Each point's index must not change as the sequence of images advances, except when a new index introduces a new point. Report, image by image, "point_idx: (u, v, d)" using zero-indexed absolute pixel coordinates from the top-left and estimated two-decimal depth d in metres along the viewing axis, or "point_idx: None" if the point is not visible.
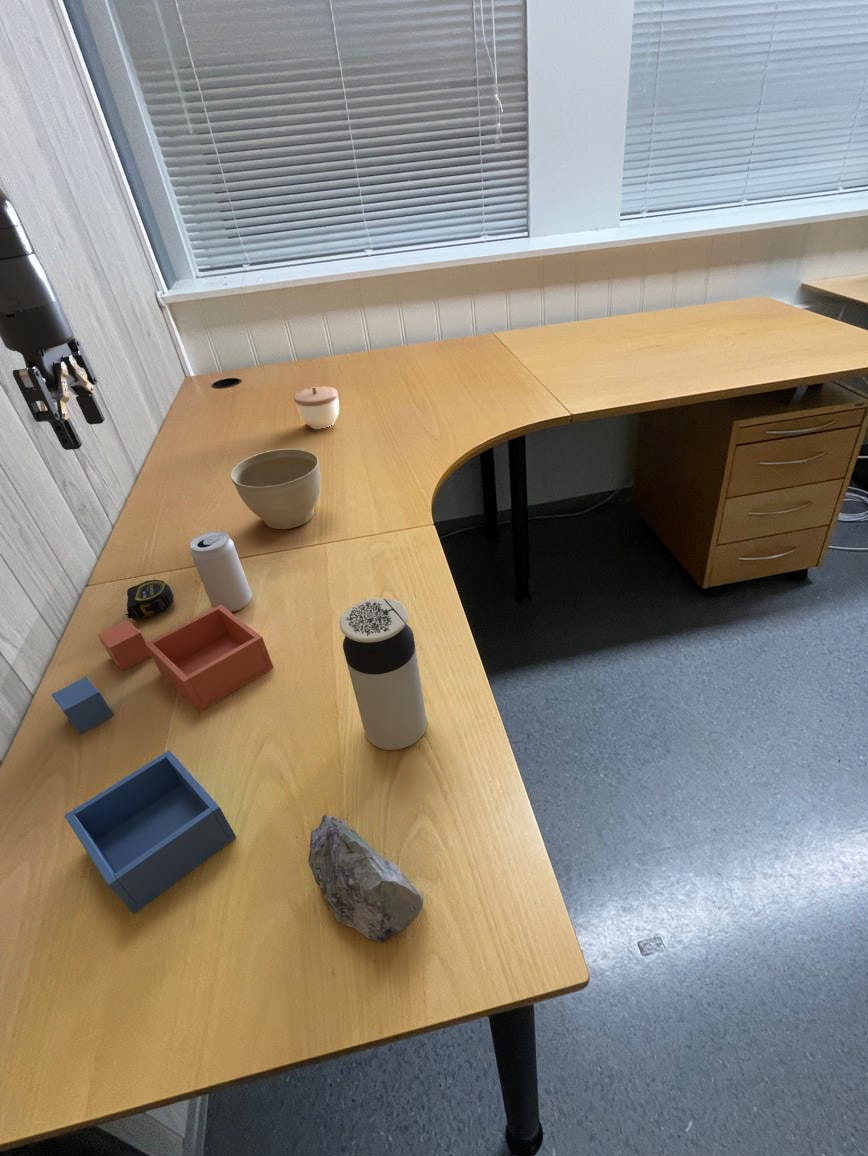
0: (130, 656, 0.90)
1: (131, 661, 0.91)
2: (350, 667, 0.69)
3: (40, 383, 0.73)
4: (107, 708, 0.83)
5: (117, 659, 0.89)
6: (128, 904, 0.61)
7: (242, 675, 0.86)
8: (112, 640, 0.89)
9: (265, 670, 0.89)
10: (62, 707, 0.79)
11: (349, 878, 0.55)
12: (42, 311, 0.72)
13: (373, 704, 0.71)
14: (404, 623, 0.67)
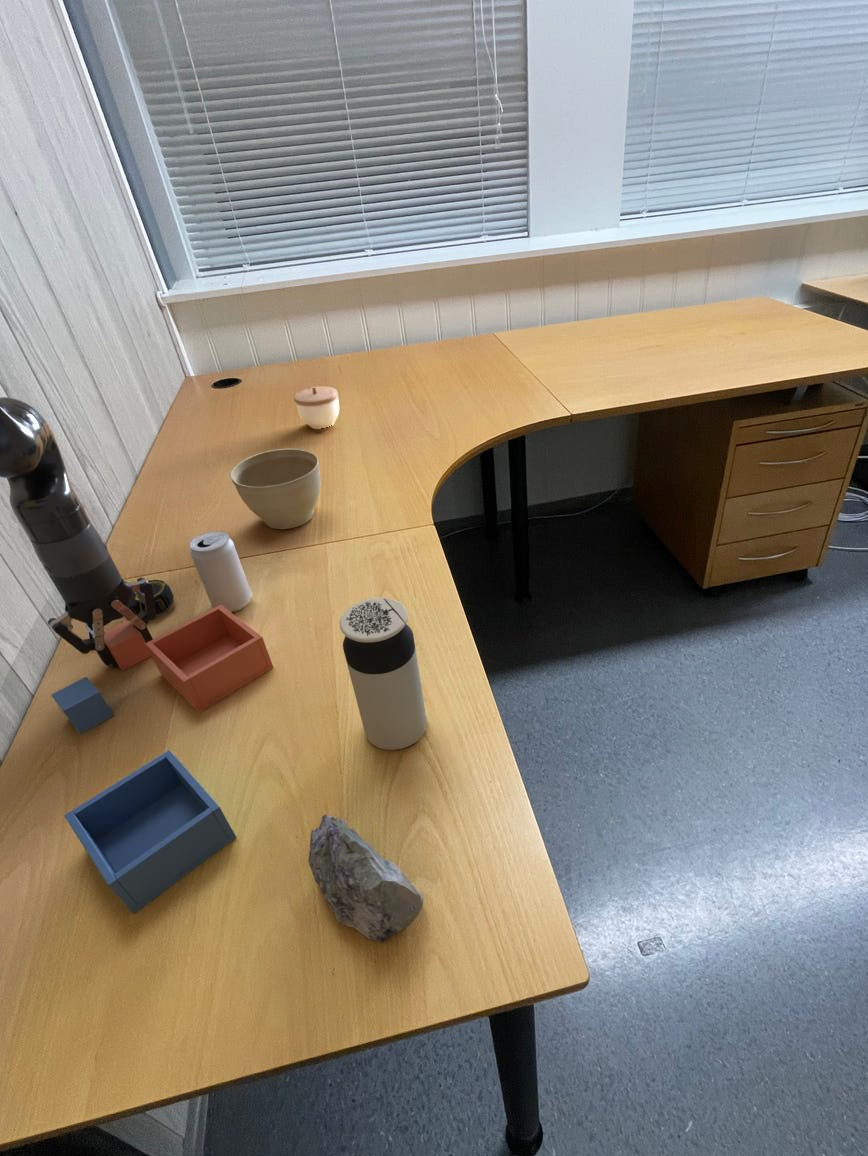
0: (130, 656, 0.90)
1: (131, 661, 0.91)
2: (350, 667, 0.69)
3: (63, 635, 0.83)
4: (107, 708, 0.83)
5: (117, 659, 0.89)
6: (128, 904, 0.61)
7: (242, 675, 0.86)
8: (112, 640, 0.89)
9: (265, 670, 0.89)
10: (62, 707, 0.79)
11: (349, 878, 0.55)
12: (69, 580, 0.79)
13: (373, 704, 0.71)
14: (404, 623, 0.67)
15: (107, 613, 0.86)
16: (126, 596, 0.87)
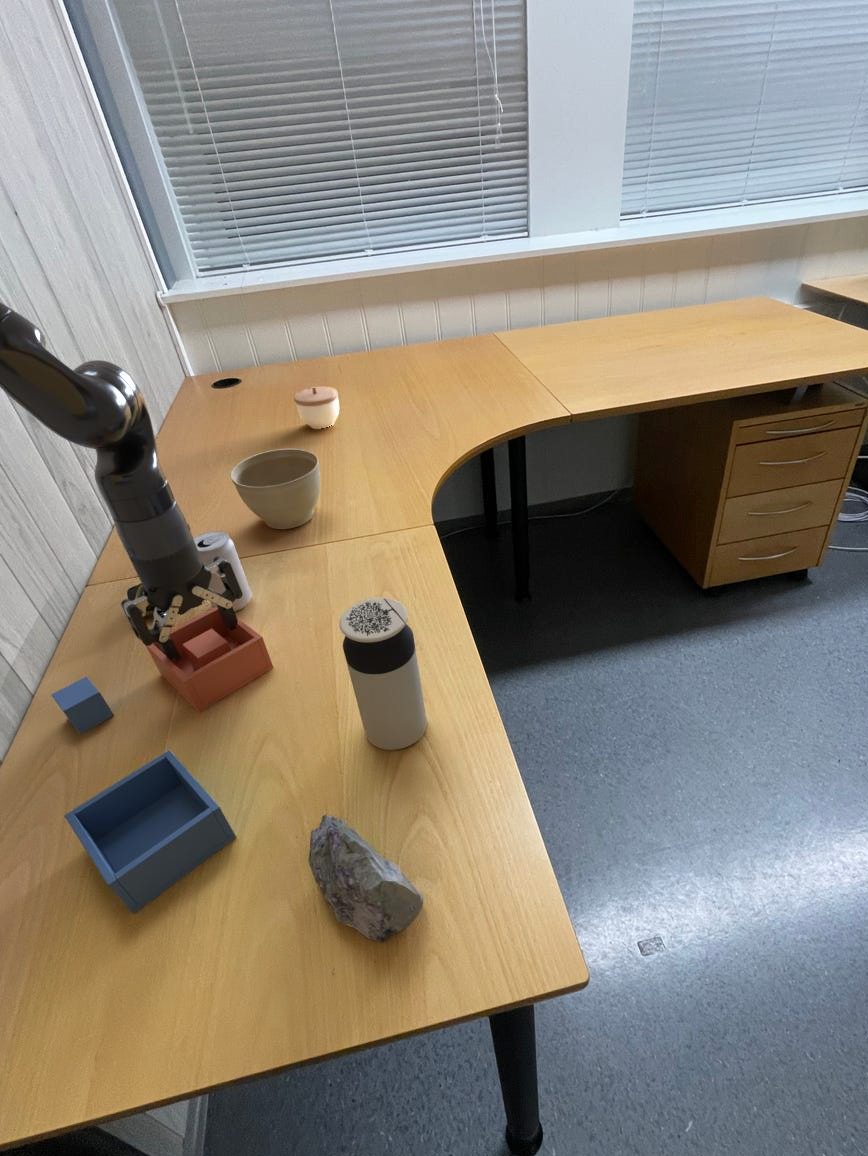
0: None
1: None
2: (350, 667, 0.69)
3: (135, 619, 0.76)
4: (107, 708, 0.83)
5: None
6: (128, 904, 0.61)
7: (242, 675, 0.86)
8: (199, 650, 0.85)
9: (265, 670, 0.89)
10: (62, 707, 0.79)
11: (350, 878, 0.55)
12: (153, 563, 0.73)
13: (373, 704, 0.71)
14: (404, 623, 0.67)
15: (186, 600, 0.80)
16: (206, 582, 0.81)
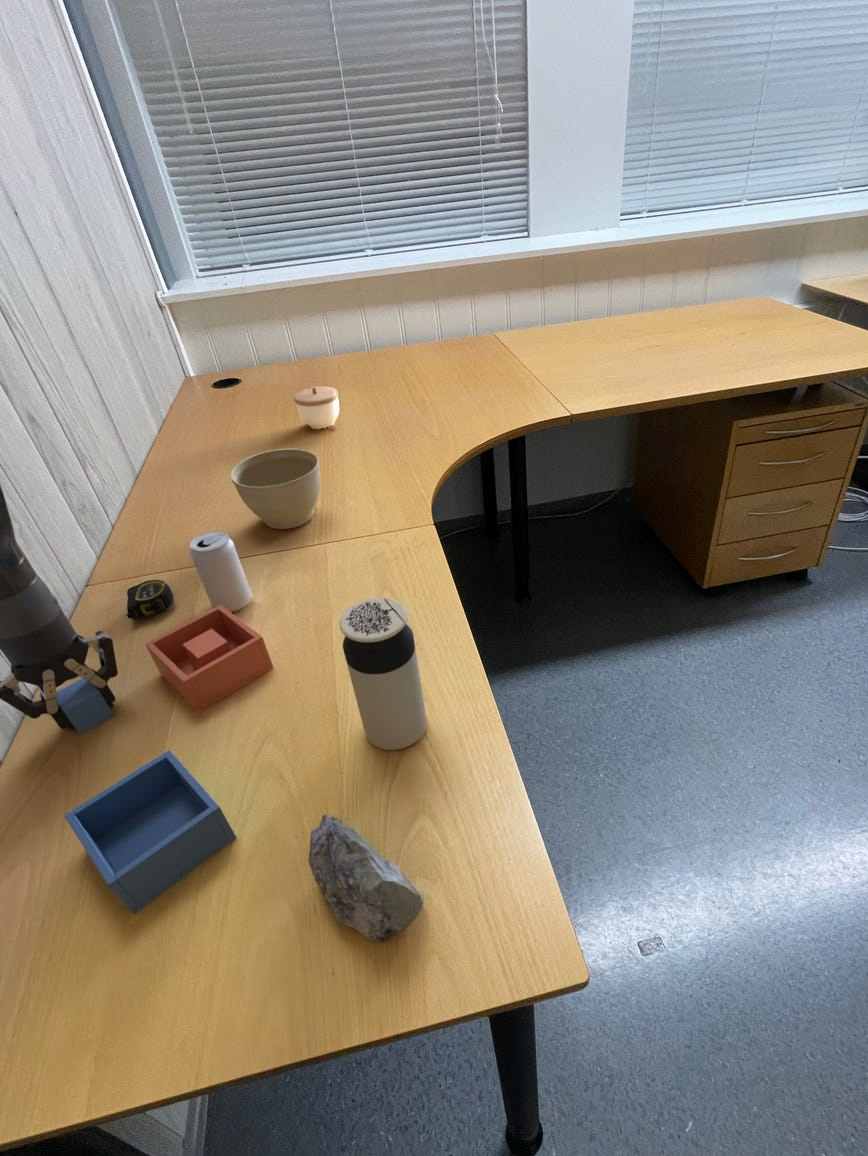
0: None
1: None
2: (350, 667, 0.69)
3: (8, 700, 0.74)
4: (107, 708, 0.83)
5: None
6: (128, 904, 0.61)
7: (242, 675, 0.86)
8: (199, 650, 0.85)
9: (265, 670, 0.89)
10: (62, 707, 0.79)
11: (350, 878, 0.55)
12: (12, 642, 0.70)
13: (373, 703, 0.71)
14: (404, 623, 0.67)
15: (60, 673, 0.77)
16: (82, 653, 0.78)
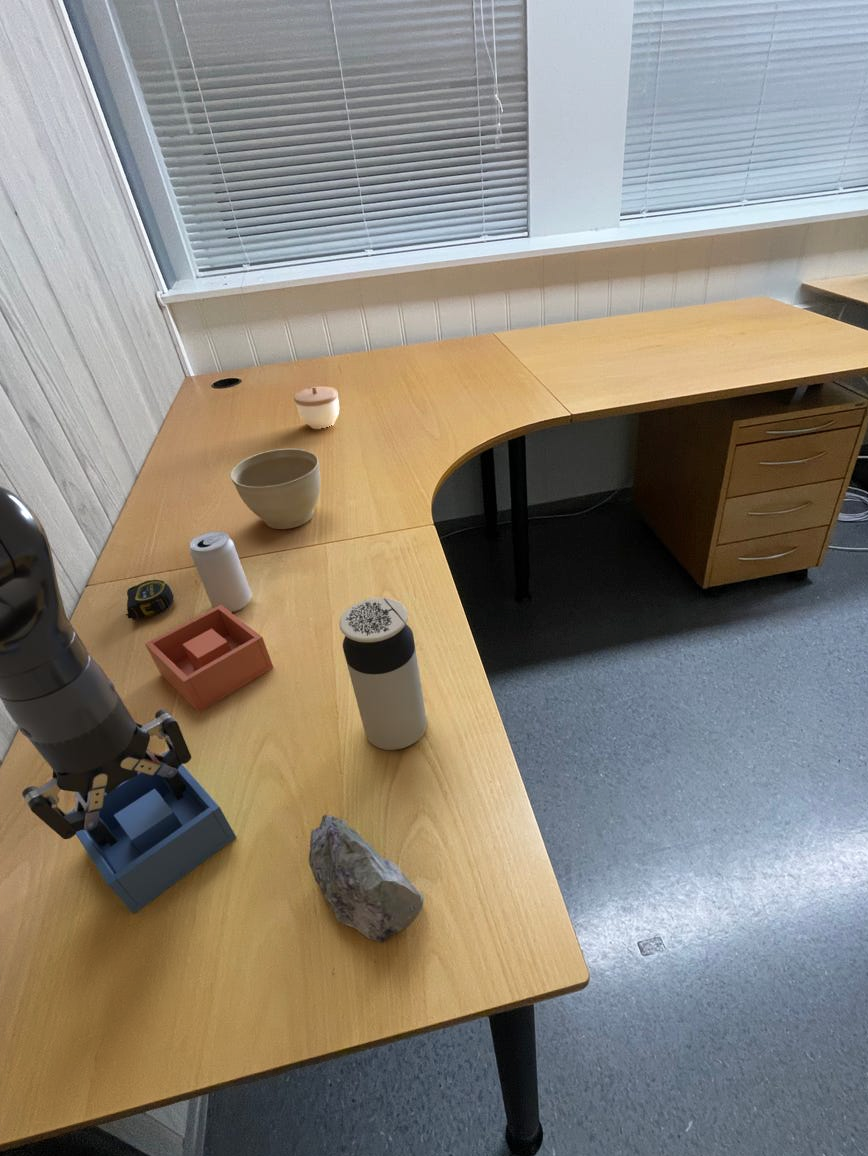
0: None
1: None
2: (350, 667, 0.69)
3: (42, 815, 0.56)
4: None
5: None
6: (128, 904, 0.61)
7: (242, 675, 0.86)
8: (199, 650, 0.85)
9: (265, 670, 0.89)
10: (129, 835, 0.63)
11: (350, 878, 0.55)
12: (58, 747, 0.52)
13: (373, 703, 0.71)
14: (404, 623, 0.67)
15: (114, 775, 0.59)
16: (142, 748, 0.60)
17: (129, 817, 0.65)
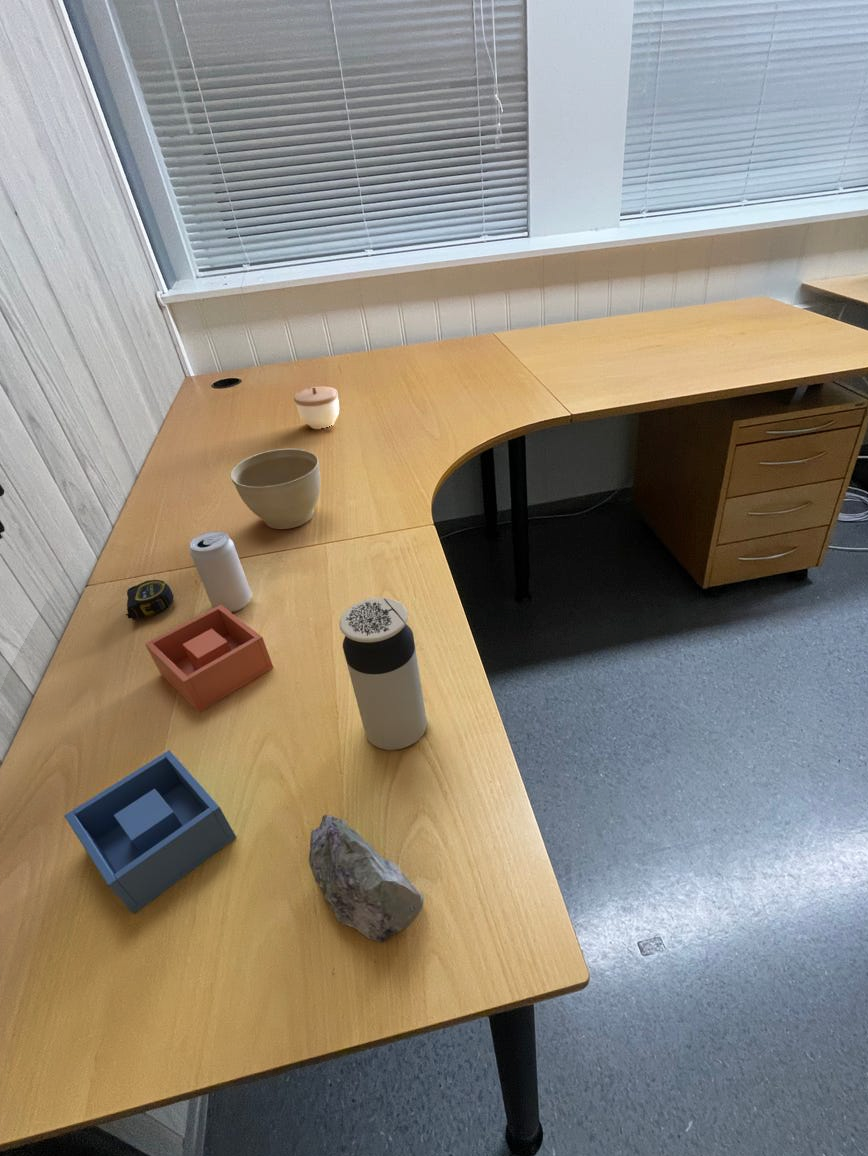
0: None
1: None
2: (350, 667, 0.69)
3: None
4: None
5: None
6: (128, 904, 0.61)
7: (242, 675, 0.86)
8: (199, 650, 0.85)
9: (265, 670, 0.89)
10: (129, 835, 0.63)
11: (350, 878, 0.55)
12: None
13: (373, 703, 0.71)
14: (404, 623, 0.67)
15: None
16: None
17: (129, 817, 0.65)
